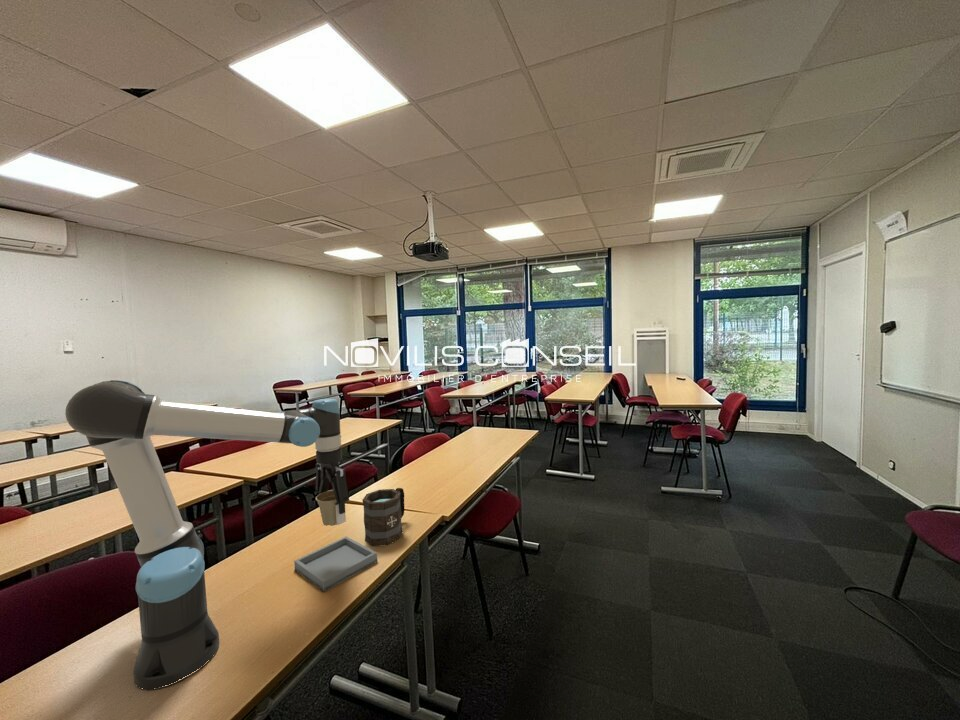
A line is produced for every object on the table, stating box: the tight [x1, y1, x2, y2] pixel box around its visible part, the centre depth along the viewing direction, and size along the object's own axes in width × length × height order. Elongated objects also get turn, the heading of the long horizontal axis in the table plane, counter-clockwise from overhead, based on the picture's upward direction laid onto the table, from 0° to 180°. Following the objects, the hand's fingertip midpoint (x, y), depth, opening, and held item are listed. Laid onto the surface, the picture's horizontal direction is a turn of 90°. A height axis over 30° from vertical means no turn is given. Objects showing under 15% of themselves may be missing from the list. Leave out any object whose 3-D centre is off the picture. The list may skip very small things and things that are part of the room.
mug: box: [361, 487, 405, 547], centre depth 140 cm, size 20×14×15 cm
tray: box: [293, 536, 378, 593], centre depth 120 cm, size 18×18×3 cm
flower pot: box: [315, 489, 338, 527], centre depth 119 cm, size 9×9×9 cm
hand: (333, 519), depth 119 cm, fingers closed on flower pot, 9 cm apart
